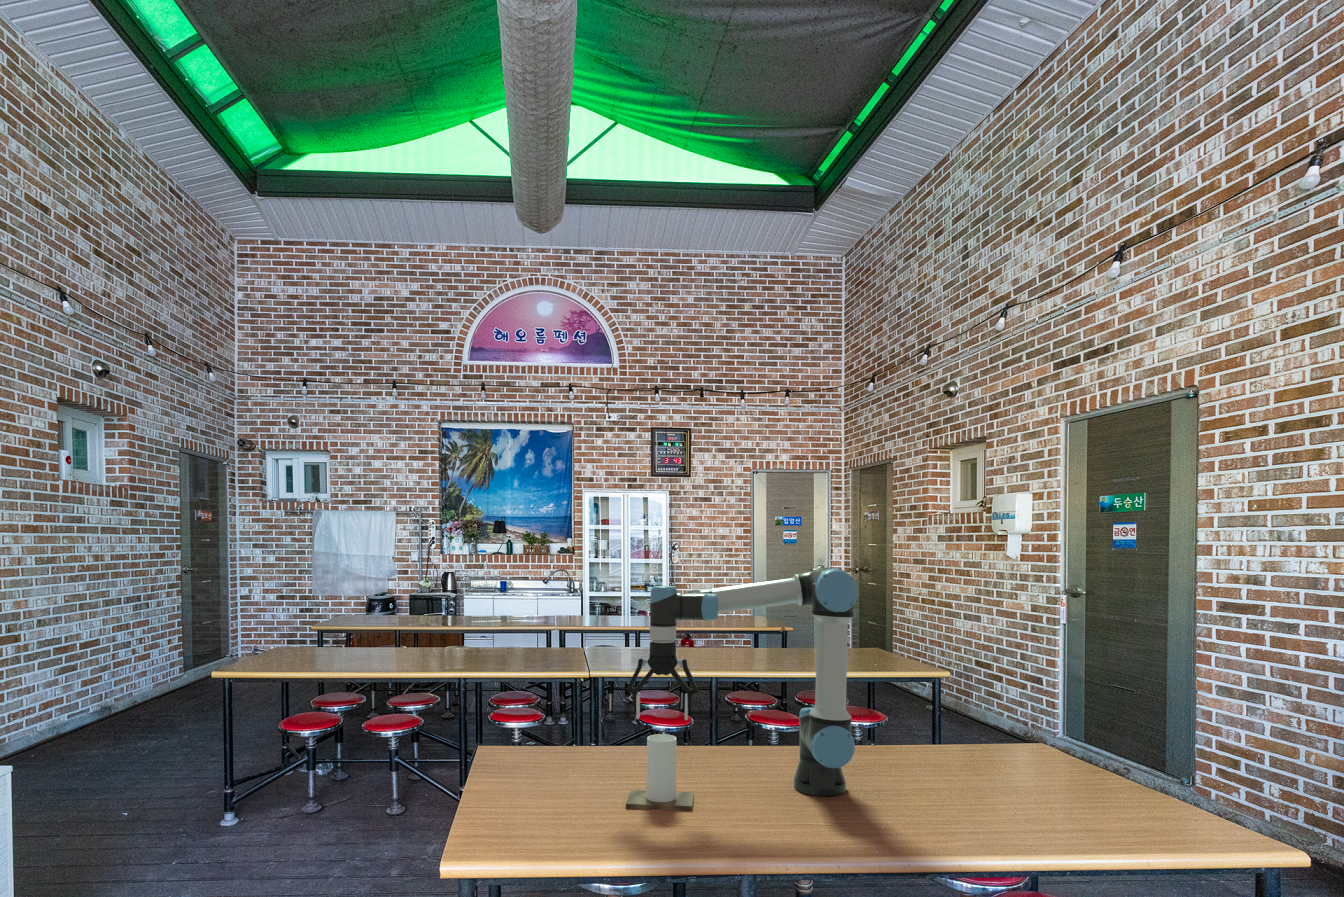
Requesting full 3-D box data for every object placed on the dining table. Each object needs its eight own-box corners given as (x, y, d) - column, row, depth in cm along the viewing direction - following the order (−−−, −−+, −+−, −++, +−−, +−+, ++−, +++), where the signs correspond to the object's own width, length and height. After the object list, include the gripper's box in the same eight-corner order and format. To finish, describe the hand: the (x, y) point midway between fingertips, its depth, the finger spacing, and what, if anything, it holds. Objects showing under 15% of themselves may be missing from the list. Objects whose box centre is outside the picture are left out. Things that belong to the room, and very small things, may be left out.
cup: (677, 793, 216) (677, 734, 218) (674, 803, 208) (675, 741, 210) (648, 792, 217) (649, 733, 219) (644, 801, 209) (645, 740, 211)
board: (693, 796, 218) (693, 791, 218) (692, 810, 206) (692, 805, 206) (630, 794, 219) (630, 789, 219) (625, 808, 207) (625, 803, 207)
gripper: (706, 640, 221) (706, 716, 218) (620, 638, 223) (619, 714, 220) (706, 643, 214) (706, 722, 211) (617, 641, 215) (616, 720, 212)
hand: (662, 718), depth 215 cm, fingers open, 13 cm apart
